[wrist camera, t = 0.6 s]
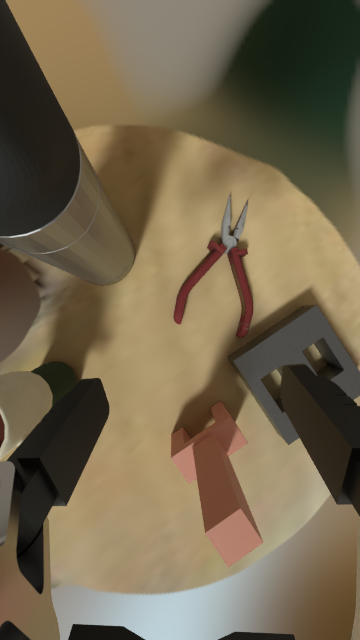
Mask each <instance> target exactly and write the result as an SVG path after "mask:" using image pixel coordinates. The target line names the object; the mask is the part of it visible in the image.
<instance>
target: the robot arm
mask: <svg viewBox="0 0 360 640" xmlns="http://www.w3.org/2000/svg"><path fill="white" fill-rule="evenodd" d="M0 243H2V244H5V245H7V246H9V247H11V248H14V249H16V250H18V251H21V252H23V253H25V254H27V255H30V256H32V257H34V258H36V259H39V260H41V261H43V262H45V263H48V264H50V265H52V266H54V267H57V268H59V269H61V270H63V271H66V272H68V273H70V274H72V275H75V276H77V277H79V278H81V279H83V280H86V281H88V282H90V283H93V284H96V285H110V284H114V283H116V282H118V281H120V280H122V279H123V278H124V277H125V276H126V275H127V274H128V273H129V271H130V270H131V268H132V266H133V262H134V254H135V252H134V246H133V244H132V241H131V239H130V237H129V235H128V233H127V231H126V229H125V227H124V225H123V223H122V222H121V220H120V218H119V216H118V214H117V212H116V210H115V208H114V206H113V205H112V203H111V201H110V199H109V197H108V195H107V193H106V191H105V189H104V188H103V186H102V184H101V182H100V180H99V178H98V176H97V174H96V172H95V171H94V169H93V167H92V165H91V163H90V161H89V160H88V158H87V156H86V154H85V152H84V150H83V148H82V146H81V144H80V143H79V141H78V139H77V137H76V135H75V133H74V131H73V129H72V127H71V125H70V123H69V121H68V119H67V117H66V116H65V114H64V112H63V110H62V108H61V106H60V104H59V103H58V101H57V99H56V97H55V95H54V93H53V91H52V89H51V87H50V85H49V84H48V82H47V80H46V78H45V76H44V74H43V72H42V70H41V68H40V66H39V64H38V62H37V61H36V59H35V57H34V55H33V53H32V51H31V49H30V47H29V45H28V43H27V41H26V39H25V37H24V36H23V34H22V32H21V30H20V28H19V26H18V24H17V22H16V21H15V18H14V16H13V14H12V12H11V10H10V9H9V7H8V5H7V3H6V1H5V0H0ZM281 402H282V406H283V408H284V410H285V412H286V414H287V416H288V418H289V419H290V421H291V423H292V425H293V427H294V428H295V430H296V432H297V434H298V436H299V437H300V439H301V441H302V443H303V444H304V446H305V448H306V450H307V452H308V453H309V455H310V457H311V459H312V461H313V462H314V464H315V466H316V468H317V470H318V471H319V473H320V475H321V477H322V478H323V480H324V482H325V484H326V486H327V487H328V489H329V491H330V493H331V495H332V496H333V498H334V500H335V502H336V504H352V505H353V506H354V508H355V510H356V511H357V513H358V514H359V521H358V547H357V549H358V550H357V591H356V592H357V593H356V612H355V620H354V625H353V632H352V640H360V406H357V403H355V402H354V401H353V400H352V399H351V398H350V397H348V396H347V394H346V393H345V392H344V391H343V390H342V389H341V388H340V387H339V386H338V385H337V384H336V383H334V382H332V381H331V380H329V379H327V378H325V377H324V376H322V375H319V376H316V375H315V373H314V372H313V371H312V370H311V369H310V368H309V367H308V366H307V365H306V364H291V365H284V366H283V368H282V380H281ZM108 415H109V403H108V400H107V397H106V394H105V391H104V388H103V384H102V382H101V380H100V379H99V378H92V379H81V380H80V381H79V382H78V383H77V384H76V385H75V387H74V388H73V389H72V390H71V392H68V393H67V394H65V395H64V396H63V397H61V398H60V399H59V400H58V401H57V402H56V403H55V404H54V405H53V406H52V408H51V409H50V410H49V413H46V415H45V416H44V417H43V418H42V419H41V422H39V423H38V424H37V425H36V427H35V428H34V429H33V430H32V431H31V432H30V434H29V435H28V436H27V437H26V438H25V440H24V441H23V442H22V443H21V444H20V445H19V447H18V448H17V449H16V450H15V451H14V453H13V454H12V455H11V456H10V457H9V458H8V460H7V461H3V462H0V640H60V634H59V627H58V622H57V617H56V614H55V611H54V608H53V603H52V598H51V575H50V543H49V520H48V518H47V515H48V513H49V511H50V509H51V507H52V506H66V505H67V503H68V501H69V499H70V497H71V495H72V493H73V491H74V489H75V486H76V484H77V482H78V480H79V478H80V476H81V474H82V472H83V470H84V467H85V465H86V463H87V461H88V459H89V457H90V455H91V453H92V451H93V448H94V446H95V444H96V442H97V440H98V438H99V436H100V434H101V431H102V429H103V427H104V425H105V423H106V421H107V419H108ZM68 640H145V639H143V638H141V637H140V636H138V635H137V634H135V633H133V632H132V631H130V630H128V629H126V628H125V627H123V626H103V625H102V626H101V625H81V624H73V626H72V629H71V632H70V636H69V639H68ZM218 640H295V637H294V635H292V634H272V633H271V634H270V633H251V632H234V633H231V634H229V635H227V636H225V637H223V638H221V639H218Z"/></svg>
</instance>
